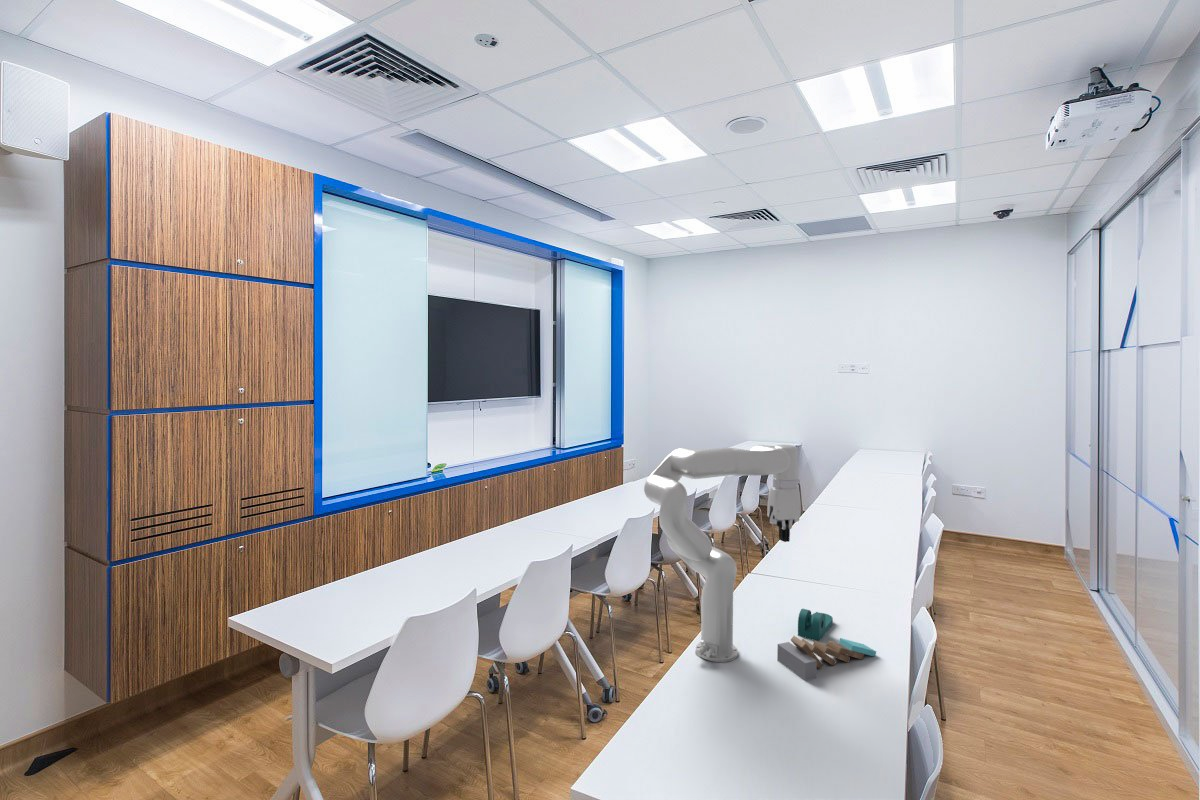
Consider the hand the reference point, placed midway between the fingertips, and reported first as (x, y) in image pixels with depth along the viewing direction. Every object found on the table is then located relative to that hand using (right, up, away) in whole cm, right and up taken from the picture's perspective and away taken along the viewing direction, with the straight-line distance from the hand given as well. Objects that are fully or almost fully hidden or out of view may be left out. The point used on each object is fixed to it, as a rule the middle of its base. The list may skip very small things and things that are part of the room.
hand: (784, 540), depth 184 cm
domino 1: (+4, -32, -15) cm, 36 cm away
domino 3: (+14, -32, -12) cm, 37 cm away
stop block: (-2, -33, -17) cm, 37 cm away
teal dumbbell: (+14, -32, +9) cm, 36 cm away
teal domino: (+24, -32, -8) cm, 40 cm away
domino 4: (+19, -32, -10) cm, 38 cm away
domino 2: (+9, -32, -13) cm, 36 cm away
